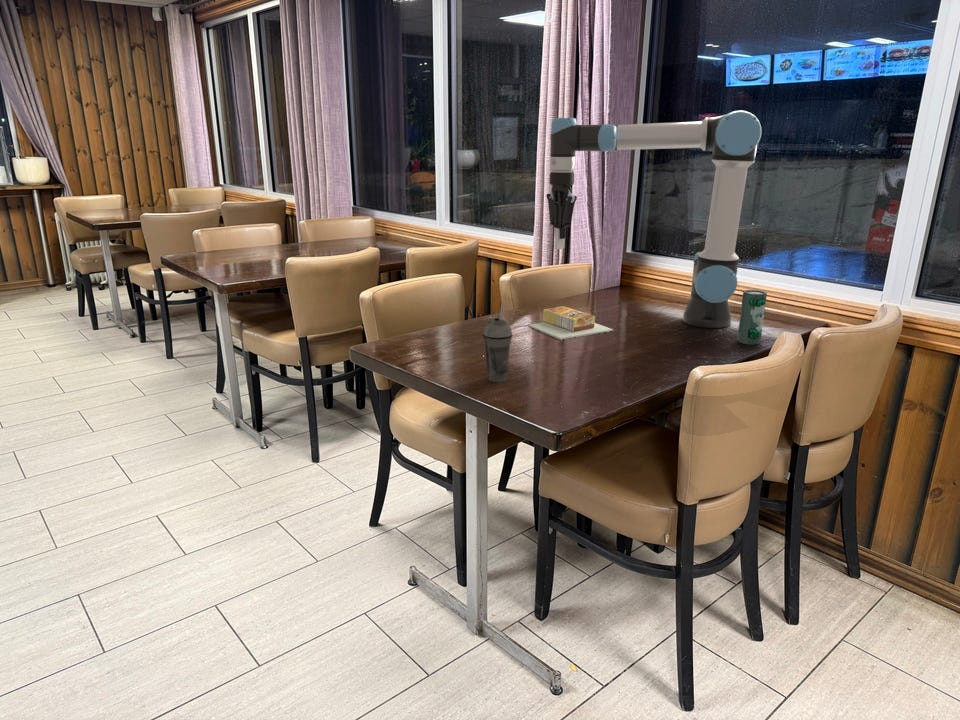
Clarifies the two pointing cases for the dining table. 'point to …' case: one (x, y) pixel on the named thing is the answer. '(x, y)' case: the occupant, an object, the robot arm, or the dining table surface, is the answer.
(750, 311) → the can
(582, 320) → the candy box
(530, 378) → the dining table surface
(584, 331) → the mat
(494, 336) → the beverage cup
